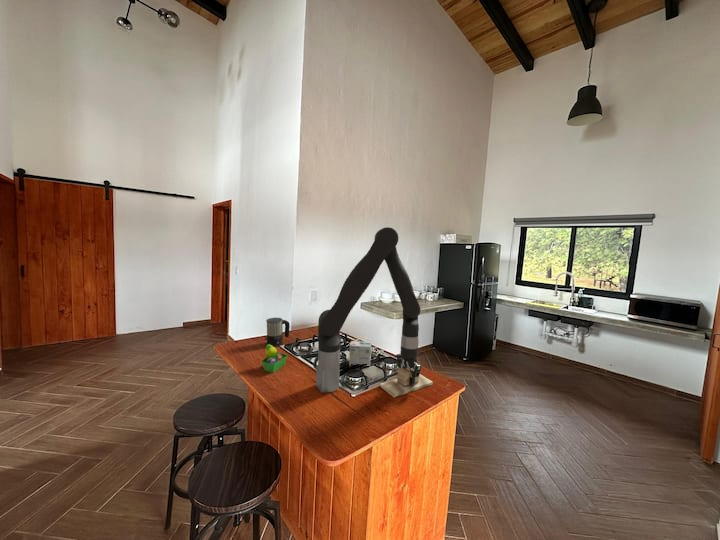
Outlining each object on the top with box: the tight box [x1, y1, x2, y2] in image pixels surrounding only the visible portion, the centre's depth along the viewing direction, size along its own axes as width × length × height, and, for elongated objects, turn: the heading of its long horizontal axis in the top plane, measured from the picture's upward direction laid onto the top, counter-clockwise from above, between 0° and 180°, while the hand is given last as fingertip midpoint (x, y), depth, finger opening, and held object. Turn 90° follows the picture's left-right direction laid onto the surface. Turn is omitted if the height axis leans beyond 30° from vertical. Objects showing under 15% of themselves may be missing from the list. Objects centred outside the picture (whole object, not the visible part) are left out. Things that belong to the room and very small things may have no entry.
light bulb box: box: [348, 340, 372, 367], centre depth 147 cm, size 11×7×11 cm, turn 84°
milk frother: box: [265, 317, 291, 348], centre depth 173 cm, size 14×16×15 cm
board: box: [379, 373, 434, 398], centre depth 128 cm, size 22×10×1 cm, turn 122°
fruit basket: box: [260, 344, 288, 373], centre depth 140 cm, size 11×9×11 cm
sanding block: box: [396, 367, 419, 387], centre depth 127 cm, size 8×5×6 cm, turn 121°
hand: (407, 381), depth 128 cm, fingers closed on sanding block, 5 cm apart
